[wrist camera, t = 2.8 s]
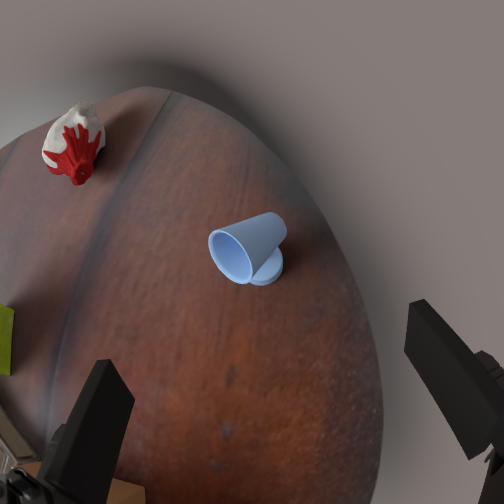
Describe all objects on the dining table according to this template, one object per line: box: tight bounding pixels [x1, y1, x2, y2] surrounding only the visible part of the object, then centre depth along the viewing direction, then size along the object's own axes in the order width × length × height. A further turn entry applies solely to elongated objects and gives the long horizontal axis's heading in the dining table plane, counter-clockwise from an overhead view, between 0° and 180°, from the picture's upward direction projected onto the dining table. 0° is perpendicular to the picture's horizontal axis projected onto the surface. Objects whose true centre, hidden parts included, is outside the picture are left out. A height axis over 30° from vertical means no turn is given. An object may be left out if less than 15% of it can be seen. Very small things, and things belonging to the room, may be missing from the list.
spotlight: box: [209, 212, 287, 286], centre depth 27 cm, size 5×10×7 cm
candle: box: [42, 102, 105, 185], centre depth 38 cm, size 9×11×15 cm
